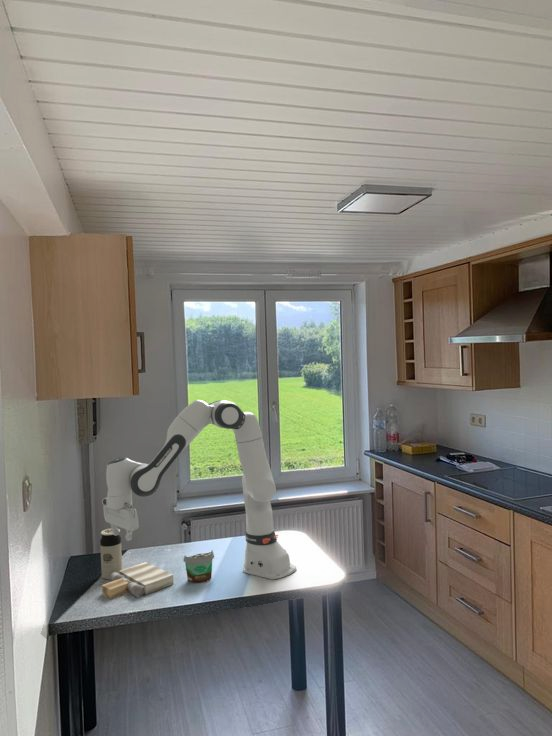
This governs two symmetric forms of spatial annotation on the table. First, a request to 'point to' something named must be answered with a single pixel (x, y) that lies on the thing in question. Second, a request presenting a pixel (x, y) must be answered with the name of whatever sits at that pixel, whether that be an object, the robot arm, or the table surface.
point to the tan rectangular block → (115, 588)
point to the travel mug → (110, 553)
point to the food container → (199, 567)
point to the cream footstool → (144, 578)
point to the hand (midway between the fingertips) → (122, 537)
